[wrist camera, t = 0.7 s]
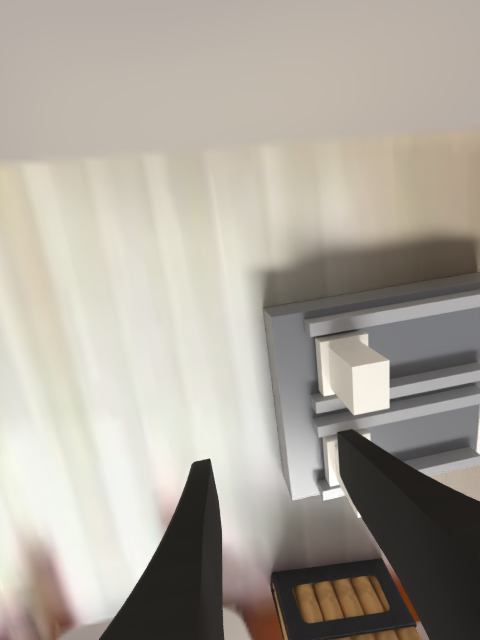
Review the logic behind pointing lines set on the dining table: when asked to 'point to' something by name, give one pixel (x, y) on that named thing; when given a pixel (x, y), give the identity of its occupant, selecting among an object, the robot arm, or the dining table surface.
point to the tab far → (337, 462)
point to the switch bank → (404, 377)
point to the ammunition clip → (341, 603)
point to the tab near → (353, 372)
